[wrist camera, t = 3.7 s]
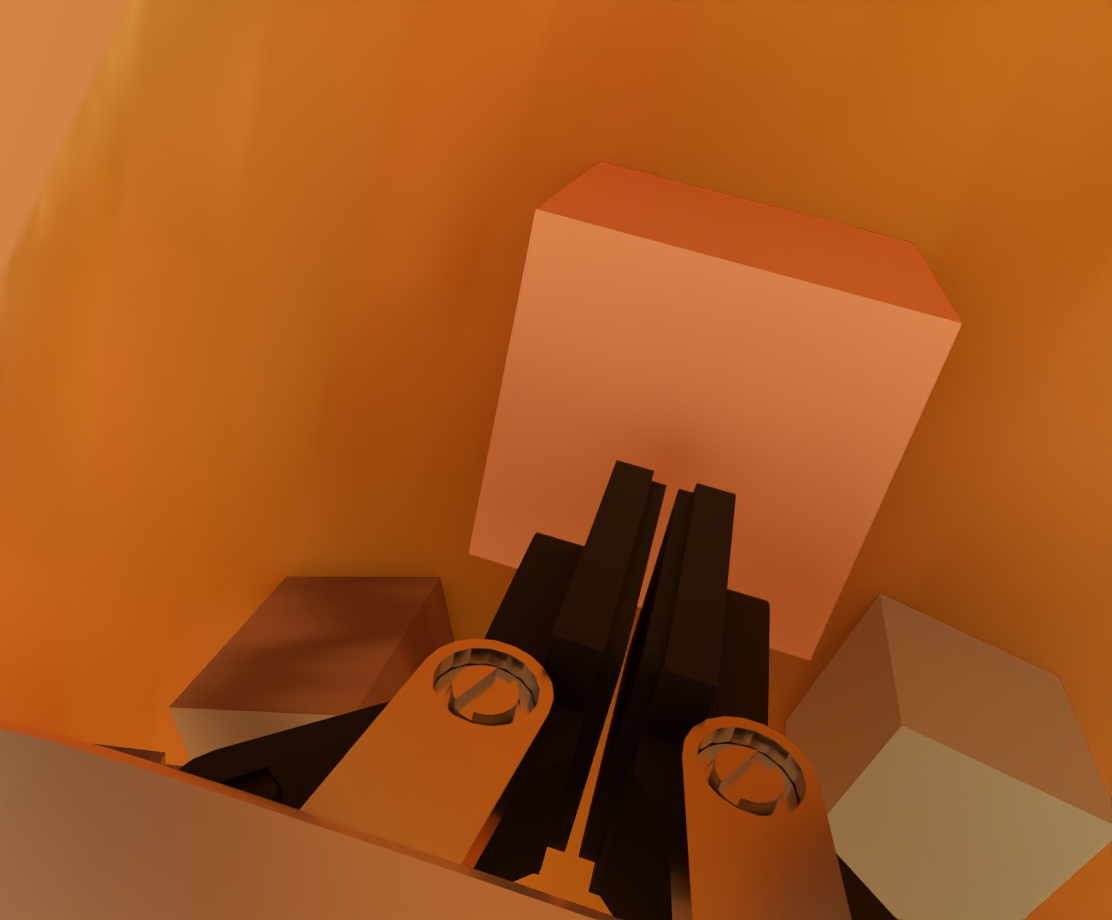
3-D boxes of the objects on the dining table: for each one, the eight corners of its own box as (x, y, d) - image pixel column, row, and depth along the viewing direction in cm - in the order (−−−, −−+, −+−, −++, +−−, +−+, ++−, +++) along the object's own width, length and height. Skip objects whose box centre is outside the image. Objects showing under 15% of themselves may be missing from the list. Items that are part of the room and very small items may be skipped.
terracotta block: (912, 241, 19) (962, 323, 14) (803, 512, 22) (809, 661, 17) (601, 160, 20) (535, 209, 15) (539, 434, 23) (468, 553, 18)
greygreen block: (1058, 675, 23) (1124, 829, 18) (946, 795, 25) (980, 957, 21) (879, 591, 23) (902, 725, 18) (785, 719, 25) (785, 864, 21)
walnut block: (440, 576, 26) (352, 716, 21) (471, 712, 28) (397, 871, 23) (288, 575, 27) (168, 707, 22) (327, 705, 29) (227, 854, 24)
